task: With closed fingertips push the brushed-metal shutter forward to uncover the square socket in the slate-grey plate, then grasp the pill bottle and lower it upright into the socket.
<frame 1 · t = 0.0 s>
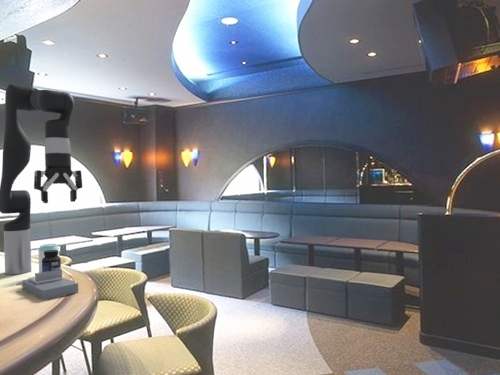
hand: (59, 202, 128), 29 cm above the table, fingers open, 8 cm apart
pill bottle: (51, 281, 143), on the table
can: (49, 276, 152), on the table
socket plate: (49, 290, 129), on the table
shutter: (45, 274, 132), point 5 cm above the table, slide at 0.0 cm
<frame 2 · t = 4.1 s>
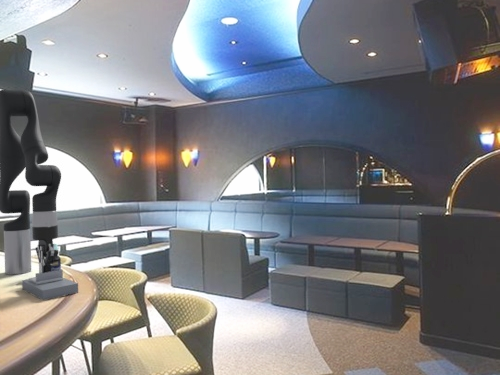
hand: (46, 276, 131), 4 cm above the table, fingers closed
shutter: (45, 275, 131), point 5 cm above the table, slide at 0.5 cm, touching gripper
everything else where it was.
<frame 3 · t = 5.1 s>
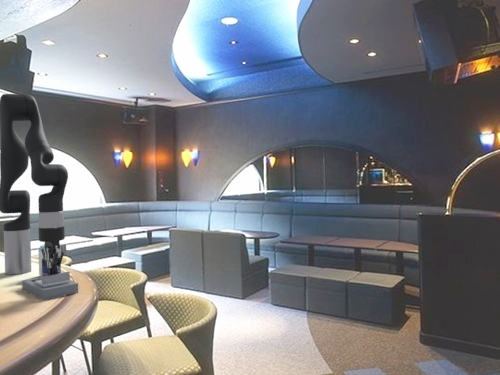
hand: (53, 279, 127), 4 cm above the table, fingers closed
shutter: (52, 277, 127), point 5 cm above the table, slide at 6.2 cm, touching gripper
everything else where it was.
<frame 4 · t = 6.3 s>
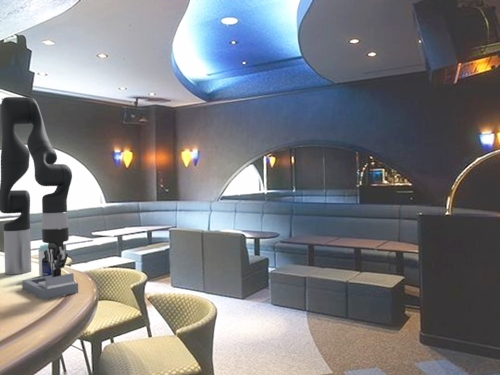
hand: (56, 280, 125), 4 cm above the table, fingers closed
shutter: (55, 279, 125), point 5 cm above the table, slide at 9.4 cm, touching gripper
everything else where it was.
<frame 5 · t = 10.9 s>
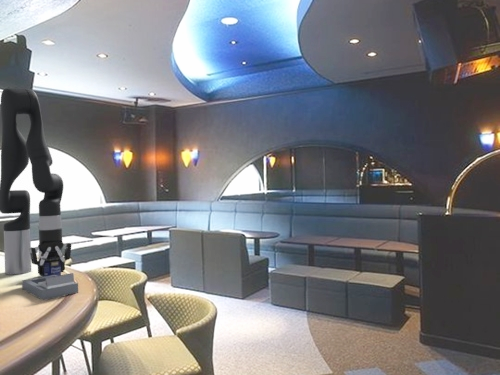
hand: (51, 273, 143), 3 cm above the table, fingers closed on pill bottle, 6 cm apart
pill bottle: (51, 281, 143), on the table, touching gripper
shutter: (55, 279, 125), point 5 cm above the table, slide at 9.4 cm
everything else where it was.
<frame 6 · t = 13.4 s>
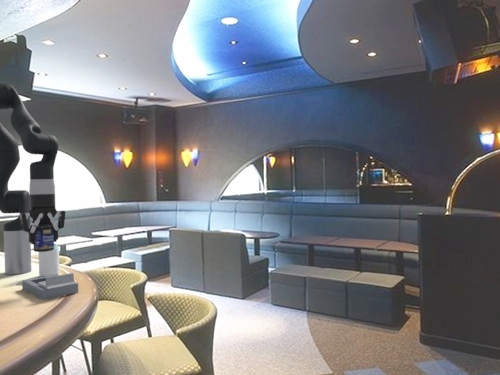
hand: (43, 242, 132), 16 cm above the table, fingers closed on pill bottle, 6 cm apart
pill bottle: (44, 251, 132), point 13 cm above the table, touching gripper
everything else where it was.
when the fingers open (4 cm above the table, at t = 15.9 s): pill bottle drops 1 cm, resting on socket plate.
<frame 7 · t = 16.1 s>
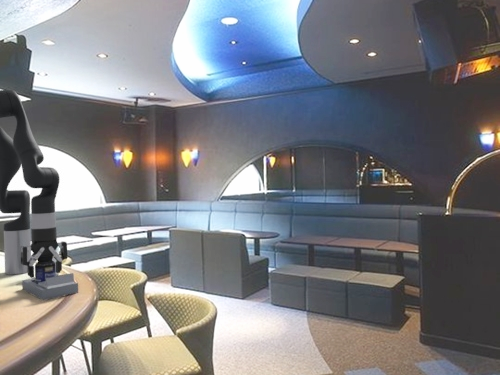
hand: (45, 274, 132), 5 cm above the table, fingers open, 8 cm apart
pill bottle: (45, 288, 132), resting on socket plate
everything else where it was.
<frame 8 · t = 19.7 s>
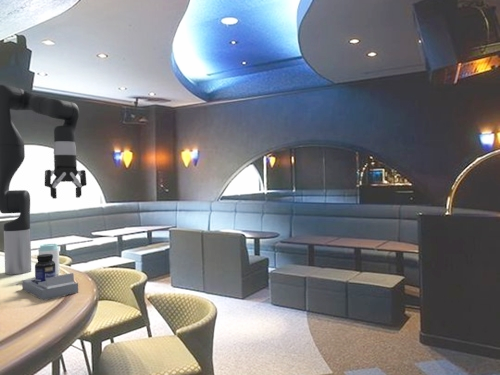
hand: (66, 198, 146), 30 cm above the table, fingers open, 8 cm apart
nothing on the table moved.
at the end: shutter slide at 9.4 cm; pill bottle 0.1 cm from the target spot, resting on socket plate; pill bottle tilted 0° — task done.
